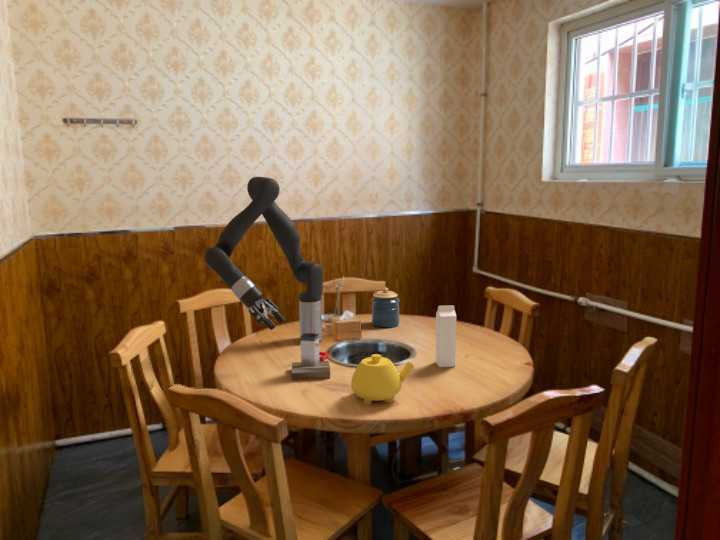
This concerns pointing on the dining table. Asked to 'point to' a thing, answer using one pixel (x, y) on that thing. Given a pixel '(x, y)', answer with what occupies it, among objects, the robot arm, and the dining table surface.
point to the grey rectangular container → (309, 350)
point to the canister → (385, 309)
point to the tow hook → (321, 352)
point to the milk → (446, 336)
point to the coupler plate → (310, 371)
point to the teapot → (378, 379)
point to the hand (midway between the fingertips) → (278, 325)
